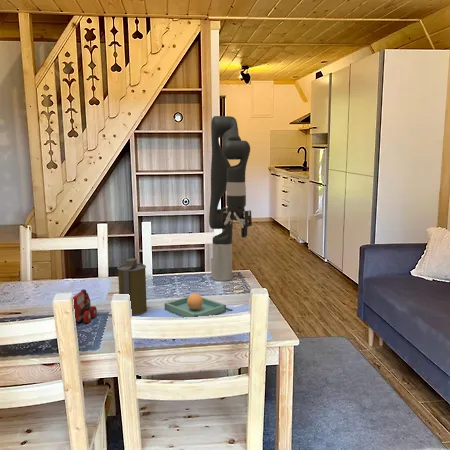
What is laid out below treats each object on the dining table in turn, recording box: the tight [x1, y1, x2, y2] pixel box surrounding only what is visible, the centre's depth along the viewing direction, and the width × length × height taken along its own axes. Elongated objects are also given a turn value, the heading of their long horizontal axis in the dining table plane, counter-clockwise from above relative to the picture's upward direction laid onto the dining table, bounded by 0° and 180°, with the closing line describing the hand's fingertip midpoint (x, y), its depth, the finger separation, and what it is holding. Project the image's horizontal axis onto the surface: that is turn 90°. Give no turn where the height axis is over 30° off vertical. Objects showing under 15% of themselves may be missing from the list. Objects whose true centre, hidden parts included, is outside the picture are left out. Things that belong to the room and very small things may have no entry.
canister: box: [116, 257, 148, 317], centre depth 164 cm, size 11×10×20 cm
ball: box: [187, 293, 203, 310], centre depth 166 cm, size 6×6×6 cm
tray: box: [164, 295, 227, 318], centre depth 166 cm, size 18×15×2 cm
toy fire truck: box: [72, 289, 98, 324], centre depth 157 cm, size 7×12×10 cm, turn 175°
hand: (235, 235), depth 170 cm, fingers open, 8 cm apart
